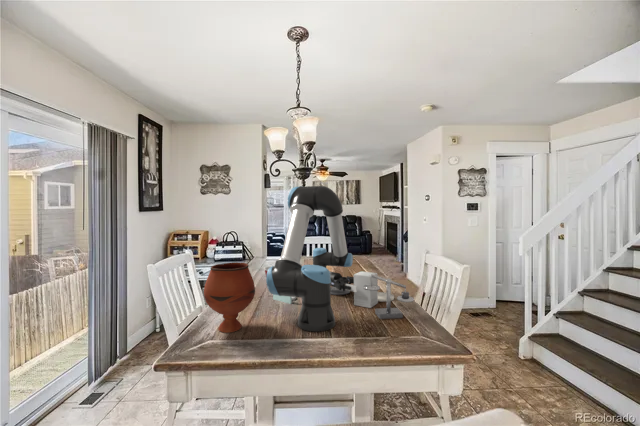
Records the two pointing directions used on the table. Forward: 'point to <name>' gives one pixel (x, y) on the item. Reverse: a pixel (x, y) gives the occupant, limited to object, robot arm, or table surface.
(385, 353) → the table surface
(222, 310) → the goblet
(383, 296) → the cream dish
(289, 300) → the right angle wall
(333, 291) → the charcoal dish
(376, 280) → the supplement box
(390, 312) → the balance
